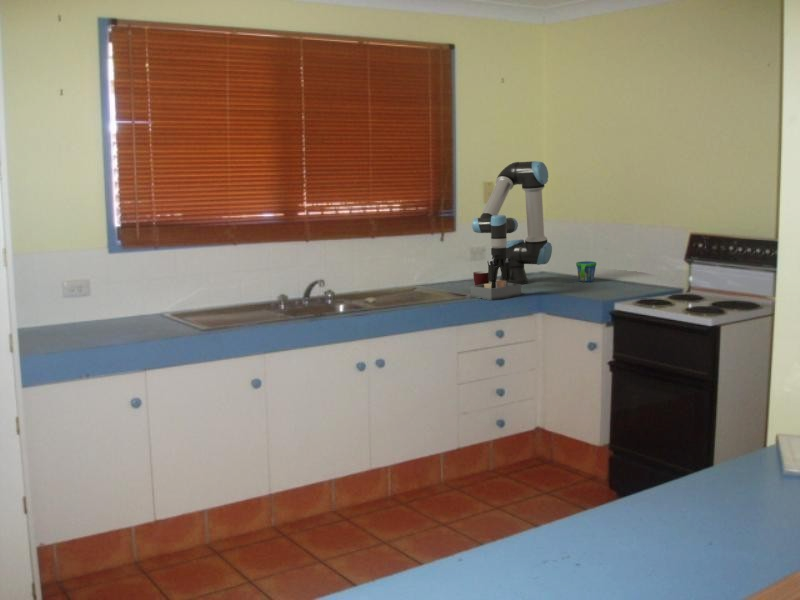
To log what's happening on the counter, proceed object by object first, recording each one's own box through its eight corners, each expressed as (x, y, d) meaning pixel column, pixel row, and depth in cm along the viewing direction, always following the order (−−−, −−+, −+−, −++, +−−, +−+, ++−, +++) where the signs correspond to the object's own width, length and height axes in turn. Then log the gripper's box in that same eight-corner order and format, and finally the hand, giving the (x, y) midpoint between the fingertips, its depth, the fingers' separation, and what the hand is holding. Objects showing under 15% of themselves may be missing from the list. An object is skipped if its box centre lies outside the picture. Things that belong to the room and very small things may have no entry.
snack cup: (590, 283, 471) (590, 264, 469) (571, 283, 476) (571, 264, 475) (600, 279, 484) (600, 261, 482) (582, 279, 490) (582, 260, 488)
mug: (492, 289, 464) (491, 270, 463) (496, 291, 456) (495, 272, 455) (472, 291, 463) (471, 271, 461) (475, 293, 455) (475, 273, 453)
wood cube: (491, 292, 448) (491, 282, 448) (498, 293, 445) (498, 283, 444) (484, 293, 445) (484, 283, 445) (491, 294, 442) (491, 284, 441)
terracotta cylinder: (507, 294, 440) (506, 280, 439) (499, 296, 437) (499, 281, 436) (500, 293, 444) (499, 279, 443) (492, 295, 441) (492, 280, 440)
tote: (500, 292, 455) (499, 281, 454) (521, 295, 443) (521, 284, 442) (470, 297, 443) (470, 286, 442) (491, 300, 431) (491, 289, 430)
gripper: (507, 245, 445) (507, 291, 448) (479, 248, 434) (480, 295, 437) (517, 246, 439) (518, 293, 443) (490, 249, 428) (491, 297, 432)
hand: (499, 294), depth 440 cm, fingers open, 5 cm apart
